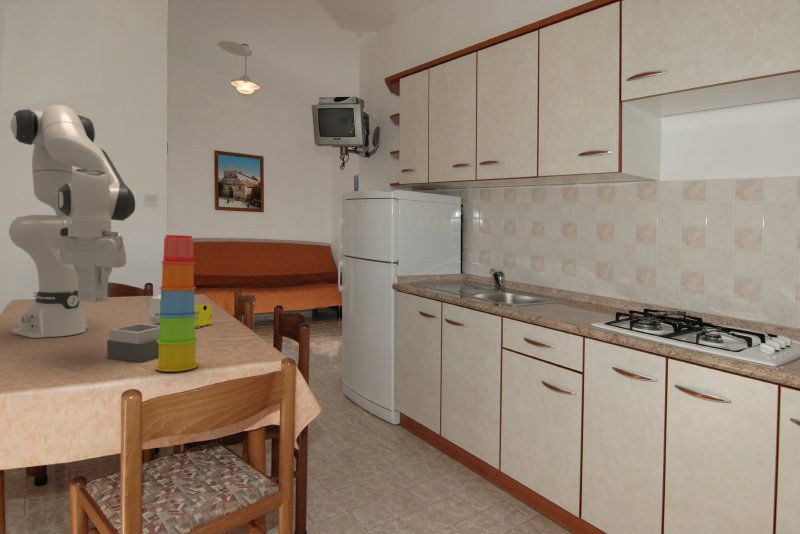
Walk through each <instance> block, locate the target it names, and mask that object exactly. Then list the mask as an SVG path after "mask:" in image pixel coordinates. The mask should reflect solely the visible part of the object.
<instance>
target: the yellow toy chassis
mask: <svg viewBox="0 0 800 534" xmlns="http://www.w3.org/2000/svg"><path fill="white" fill-rule="evenodd" d="M194 312H196V313H197V314H196V315H195V328H197V329H199V328H200V327H201V326H203V327H206V326H207V325H210V324H213V307H212V306H211V305H210V304H209V303H205V304H199V305H194ZM201 328H202V327H201Z"/></svg>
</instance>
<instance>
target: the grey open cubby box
mask: <svg viewBox="0 0 800 534" xmlns="http://www.w3.org/2000/svg"><path fill="white" fill-rule="evenodd" d="M159 332H160V326H159V325H150V324H149V323H148V324H147V323H140V322H139V323H134V324H130V325H126V326H125V325H124V326H121V327H115V328H111V329H109V339H107V341H106V342H107V343H106V344H107V345H106V347H107V353H106V354H107V355H106V356H107V359H113V360H119V359H120V360H121V361H126V360H129V361H128V362H133V361H135V362H134V363H141V362H142V363H144V361H145V362H149V361H152V360H154V358H155V359H157V357H158V358H159V343H157V340H158V339H159ZM151 359H152V360H151Z"/></svg>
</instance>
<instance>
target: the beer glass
mask: <svg viewBox="0 0 800 534" xmlns="http://www.w3.org/2000/svg"><path fill="white" fill-rule="evenodd" d="M146 311H147V318H148V324H150V325H159V326H160V316H158V314H159V313H161V295H153V296H152V295H151V296H148V297H147V310H146Z"/></svg>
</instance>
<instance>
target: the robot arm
mask: <svg viewBox="0 0 800 534" xmlns="http://www.w3.org/2000/svg"><path fill="white" fill-rule="evenodd" d="M10 130H11V132H12V135H13V136H14V138H15V139H16V141H18V142H19V143H21V144H24V145H27V146H28V145H29V146H32V145H33V146H34V147H33V149H32V160H31V170H32V171H31V172H32V183H33V194H34V196H35V198H37V200H38V201H39V202H41V203H43V204H45V205H47V206H49V207H51V209H53V211H54V212H55V215H53V214H50V215H49V214H48V215H47V214H30V215H23V216H18V217H16V218H14V219H13V220H12V221H11V223H10V225H9V229H8V235H9V238H10V240H11V242H12V243H13V244H14V245H16V247H17V248H20V249H21V250H23V251H24V252H25V253H26V254H28V256H29V257H30V258H31V260H33V263H34V264H35V267H36V270H37V277H38V292H33V295H34V296H33V297H34V298H35V297H36V298H35V299H34V300H35V301H34V302H35V303H33V304H32V306H30V307H29V308H28V309H27V310H25V311H24V312H23V313H22V314H21V315H20V316H21V317H20V326H19V327H16V328H13V329H11V334H16V335H19V336H23V337H27V338H31V339H38V338H39V339H40V338H51V337H52V338H55V337H65V336H73V335H77V334H82V333H85V332H86V331H87V329H88V324H86V319H85V314H84V313H85V312H84V306H83V304H82V303H81V301H78V257H94V260H95V262H94V263H95V266H97V267H101V271H103V272H102V275H101V277H98V280H99V281H98V283H99V284H107V285H108V284H109V277H110V276H111V273H112V272H113V268H123V267H125V266H126V264H127V256H126V255H127V254H126V247H125V242H124V241H123V236H122V235H121V234H119V232H117V231H112V220H113V221H122V222H123V221H125V220H127V219H128V218H129V217H131V216H132V215H133V213H135V210H136V199H135V196H134V193H133V191H132V190H131V189H130V188H129V186H127V184H126V183H125V182H124V181H123V179H122V177H121V175H120V173H119V171H118V170H117V168H116V167H115V165H114V163H113V161H112V160H111V158H110V157H109V155H108V153H107V152H106V151H105V150H104V149H103V148H101V147H99V146H98V145H97V144H95V143H94V141H95V139H96V129H95V126H94V123H93V122H92V120H91V119H90V118H88V117H85V116H82V115H79V114H77V112H75V110H74V109H72V108H70V107H69V106H67V105H63V104H51V105H49V106H47V107H46V108H45V109H44V110H31V109H18V110H17V111H15V112H14V113H13V116H12V117H11V119H10ZM73 167H75V168H77V169H73Z"/></svg>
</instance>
